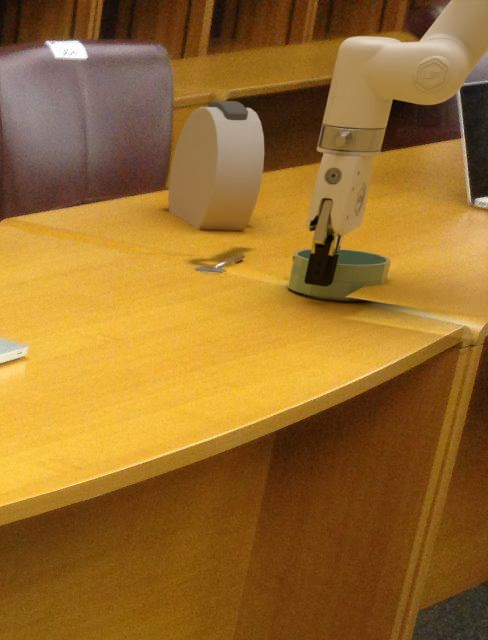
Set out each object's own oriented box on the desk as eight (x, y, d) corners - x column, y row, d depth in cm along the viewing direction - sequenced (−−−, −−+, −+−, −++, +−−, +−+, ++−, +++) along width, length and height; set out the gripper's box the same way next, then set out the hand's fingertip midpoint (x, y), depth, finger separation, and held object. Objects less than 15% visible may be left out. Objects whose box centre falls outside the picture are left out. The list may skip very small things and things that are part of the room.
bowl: (393, 292, 212) (402, 256, 209) (364, 307, 204) (372, 269, 201) (305, 280, 219) (312, 245, 217) (273, 293, 211) (280, 257, 209)
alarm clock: (249, 240, 247) (277, 111, 238) (202, 239, 247) (229, 110, 238) (204, 214, 266) (229, 93, 256) (161, 213, 266) (184, 92, 256)
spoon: (226, 258, 233) (228, 251, 233) (256, 261, 231) (257, 255, 230) (188, 275, 222) (190, 268, 222) (219, 279, 220) (220, 272, 219)
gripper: (366, 149, 189) (331, 298, 197) (396, 137, 200) (362, 279, 208) (303, 143, 193) (271, 289, 202) (335, 132, 204) (304, 271, 212)
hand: (317, 283), depth 205 cm, fingers closed
